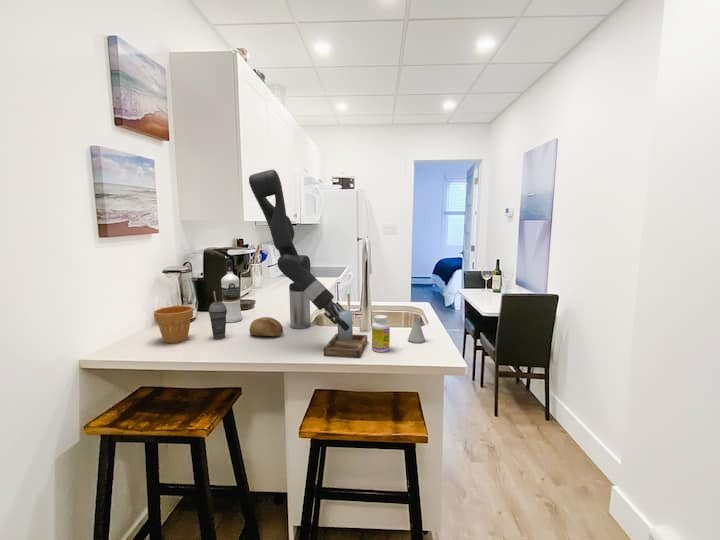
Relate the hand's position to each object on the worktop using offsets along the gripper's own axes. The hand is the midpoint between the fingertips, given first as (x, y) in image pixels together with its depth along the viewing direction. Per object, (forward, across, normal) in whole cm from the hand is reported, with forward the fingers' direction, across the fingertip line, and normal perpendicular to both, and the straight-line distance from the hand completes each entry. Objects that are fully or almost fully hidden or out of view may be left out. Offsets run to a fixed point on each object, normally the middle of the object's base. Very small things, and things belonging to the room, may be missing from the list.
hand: (349, 327), depth 136 cm
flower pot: (-45, -1, +59) cm, 74 cm away
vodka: (-41, +31, +54) cm, 74 cm away
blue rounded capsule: (+2, 0, +4) cm, 5 cm away
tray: (+5, +2, +7) cm, 9 cm away
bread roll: (-21, +12, +34) cm, 42 cm away
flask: (+24, +16, -11) cm, 30 cm away
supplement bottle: (+15, +2, -2) cm, 15 cm away
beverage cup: (-34, +5, +47) cm, 58 cm away
